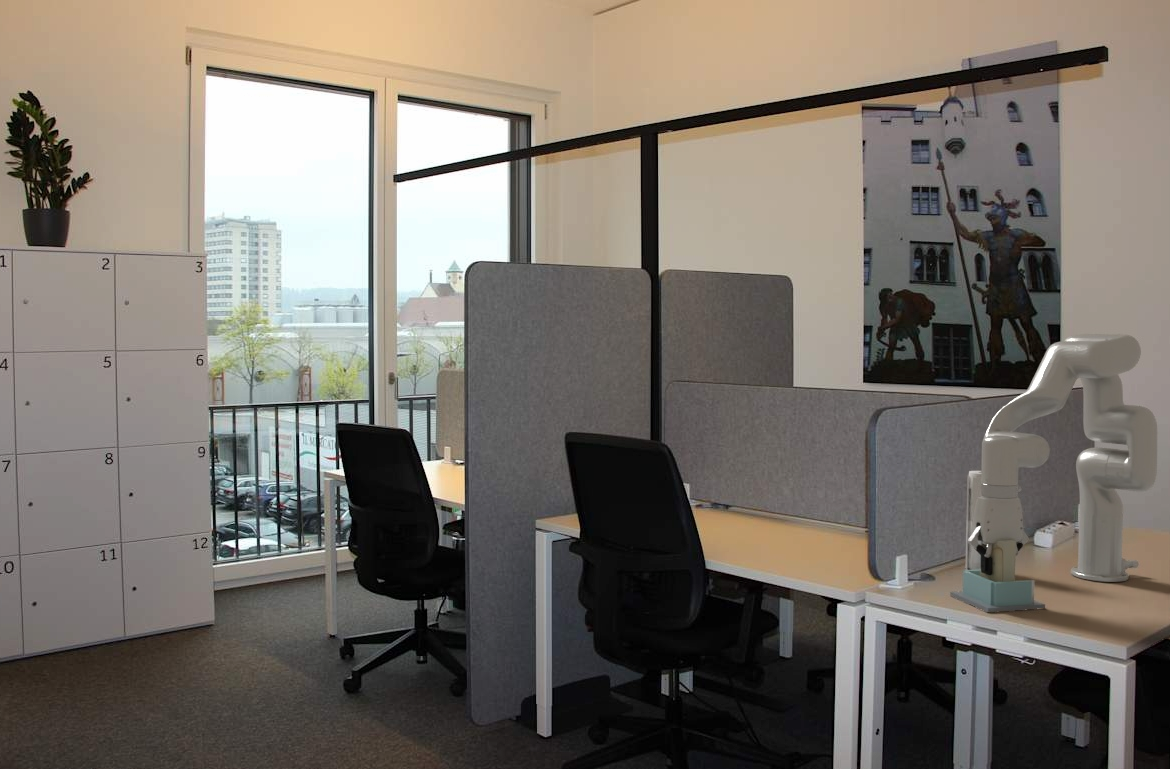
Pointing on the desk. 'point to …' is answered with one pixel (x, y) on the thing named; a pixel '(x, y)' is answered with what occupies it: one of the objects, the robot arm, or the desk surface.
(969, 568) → the tall white box
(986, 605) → the holder
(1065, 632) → the desk surface
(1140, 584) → the desk surface
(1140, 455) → the robot arm
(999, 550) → the skincare box
